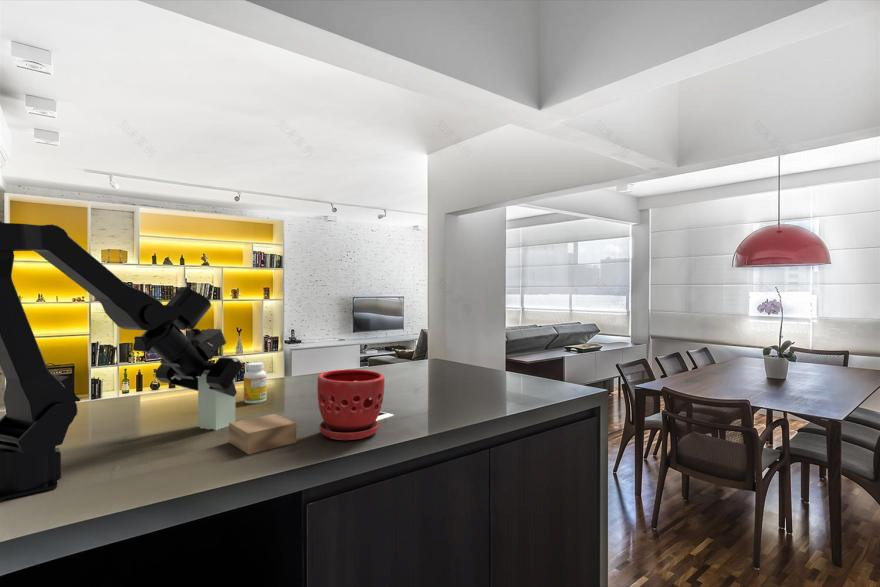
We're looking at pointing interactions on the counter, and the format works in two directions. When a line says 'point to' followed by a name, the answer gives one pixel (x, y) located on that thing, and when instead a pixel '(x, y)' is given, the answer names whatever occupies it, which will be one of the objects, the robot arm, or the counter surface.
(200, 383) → the sage block
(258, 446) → the tan block
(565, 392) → the counter surface
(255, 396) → the supplement bottle
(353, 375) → the plant pot
